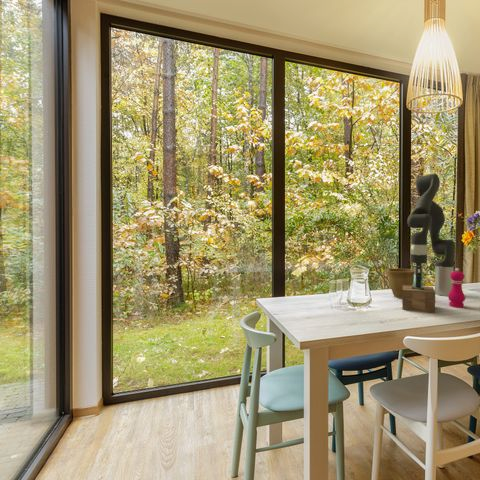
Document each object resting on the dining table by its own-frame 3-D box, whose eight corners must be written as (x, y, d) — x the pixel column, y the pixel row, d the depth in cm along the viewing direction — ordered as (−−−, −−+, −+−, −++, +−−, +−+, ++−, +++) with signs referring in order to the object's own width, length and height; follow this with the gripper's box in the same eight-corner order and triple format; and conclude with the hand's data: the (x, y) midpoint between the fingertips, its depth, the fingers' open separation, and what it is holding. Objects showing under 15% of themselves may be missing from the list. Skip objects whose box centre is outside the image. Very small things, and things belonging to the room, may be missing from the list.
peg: (413, 290, 163) (413, 273, 162) (422, 291, 161) (422, 274, 160) (413, 292, 159) (413, 274, 159) (422, 292, 157) (423, 275, 157)
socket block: (402, 303, 170) (402, 284, 169) (432, 306, 163) (432, 287, 163) (402, 309, 157) (402, 289, 157) (434, 312, 151) (435, 292, 150)
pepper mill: (467, 308, 158) (468, 269, 157) (451, 307, 160) (452, 268, 159) (460, 304, 165) (461, 267, 164) (445, 304, 167) (446, 267, 166)
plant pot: (415, 295, 187) (416, 269, 186) (414, 300, 174) (414, 272, 173) (388, 292, 195) (388, 267, 194) (385, 297, 182) (385, 270, 181)
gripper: (410, 251, 167) (409, 283, 168) (410, 254, 154) (410, 288, 155) (426, 252, 163) (425, 284, 164) (428, 255, 151) (427, 290, 152)
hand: (418, 286), depth 160 cm, fingers closed on peg, 3 cm apart
